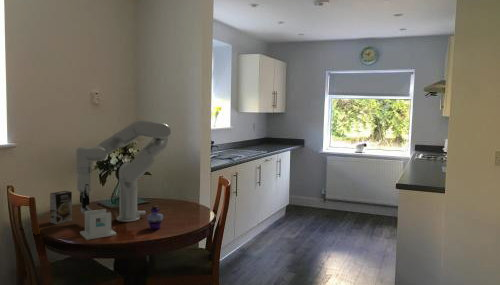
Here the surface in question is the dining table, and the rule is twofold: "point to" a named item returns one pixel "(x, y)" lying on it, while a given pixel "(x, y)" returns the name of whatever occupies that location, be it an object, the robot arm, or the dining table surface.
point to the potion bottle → (154, 218)
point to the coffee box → (60, 207)
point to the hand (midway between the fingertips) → (84, 203)
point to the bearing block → (99, 231)
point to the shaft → (85, 207)
